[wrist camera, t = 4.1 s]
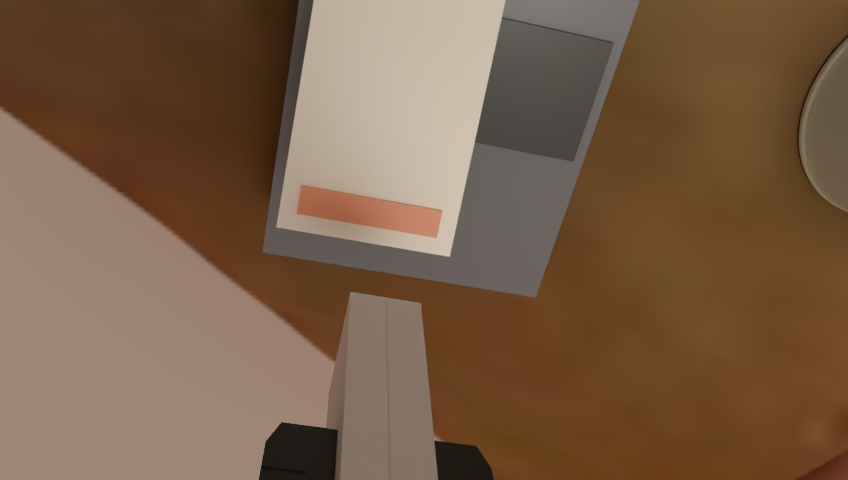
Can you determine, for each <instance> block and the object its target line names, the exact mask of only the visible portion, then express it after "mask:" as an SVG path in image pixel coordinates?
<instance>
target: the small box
mask: <svg viewBox="0 0 848 480" xmlns="http://www.w3.org/2000/svg"><path fill="white" fill-rule="evenodd" d="M505 1H506V0H314V1H313V7H312V13H311V20H310V26H309V32H308V38H307V44H306V50H305V56H304V62H303V68H302V74H301V80H300V86H299V92H298V98H297V104H296V110H295V117H294V123H293V129H292V135H291V141H290V147H289V153H288V159H287V165H286V171H285V177H284V183H283V189H282V195H281V201H280V208H279V214H278V220H277V226H276V227H277V228H283V229H289V230H295V231H301V232H307V233H312V234H318V235H324V236H330V237H336V238H342V239H348V240H354V241H359V242H365V243H371V244H377V245H383V246H389V247H395V248H400V249H406V250H412V251H418V252H424V253H430V254H436V255H442V256H447V257H450V253H451V249H452V244H453V239H454V235H455V230H456V226H457V221H458V216H459V212H460V207H461V203H462V198H463V193H464V189H465V184H466V180H467V175H468V171H469V166H470V161H471V157H472V152H473V148H474V143H475V138H476V134H477V129H478V125H479V120H480V115H481V111H482V106H483V102H484V97H485V92H486V88H487V83H488V79H489V74H490V69H491V65H492V60H493V56H494V51H495V47H496V42H497V37H498V33H499V28H500V24H501V19H502V14H503V10H504V5H505Z"/></svg>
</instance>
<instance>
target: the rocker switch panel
mask: <svg viewBox="0 0 848 480" xmlns="http://www.w3.org/2000/svg"><path fill="white" fill-rule="evenodd" d="M313 1H314V0H299V5H298V12H297V19H296V26H295V33H294V39H293V46H292V53H291V60H290V67H289V73H288V80H287V87H286V94H285V101H284V108H283V114H282V121H281V128H280V135H279V142H278V149H277V155H276V162H275V169H274V176H273V183H272V190H271V196H270V203H269V210H268V217H267V224H266V230H265V237H264V244H263V251H262V253H268V254H274V255H280V256H286V257H293V258H299V259H305V260H311V261H317V262H323V263H329V264H335V265H341V266H347V267H353V268H359V269H365V270H371V271H378V272H384V273H390V274H396V275H402V276H408V277H414V278H420V279H426V280H432V281H438V282H444V283H450V284H456V285H463V286H469V287H475V288H481V289H487V290H493V291H499V292H505V293H511V294H517V295H523V296H529V297H535V298H536V295H537V292H538V289H539V287H540V284H541V281H542V278H543V275H544V272H545V269H546V267H547V264H548V261H549V258H550V255H551V252H552V249H553V247H554V244H555V241H556V238H557V235H558V232H559V229H560V227H561V224H562V221H563V218H564V215H565V212H566V210H567V207H568V204H569V201H570V198H571V195H572V192H573V190H574V187H575V184H576V181H577V178H578V175H579V172H580V170H581V167H582V164H583V161H584V158H585V155H586V152H587V150H588V147H589V144H590V141H591V138H592V135H593V133H594V130H595V127H596V124H597V121H598V118H599V115H600V113H601V110H602V107H603V104H604V101H605V98H606V95H607V93H608V90H609V87H610V84H611V81H612V78H613V76H614V73H615V70H616V67H617V64H618V61H619V58H620V56H621V53H622V50H623V47H624V44H625V41H626V38H627V36H628V33H629V30H630V27H631V24H632V21H633V18H634V16H635V13H636V10H637V7H638V4H639V1H640V0H506V1H505V5H504V10H503V14H502V19H501V24H500V28H499V33H498V37H497V42H496V47H495V51H494V56H493V60H492V65H491V69H490V74H489V79H488V83H487V88H486V92H485V97H484V102H483V106H482V111H481V115H480V120H479V125H478V129H477V134H476V138H475V143H474V148H473V152H472V157H471V161H470V166H469V171H468V175H467V180H466V184H465V189H464V193H463V198H462V203H461V207H460V212H459V216H458V221H457V226H456V230H455V235H454V239H453V244H452V249H451V253H450V257H447V256H442V255H436V254H430V253H424V252H418V251H412V250H406V249H400V248H395V247H389V246H383V245H377V244H371V243H365V242H359V241H354V240H348V239H342V238H336V237H330V236H324V235H318V234H312V233H307V232H301V231H295V230H289V229H283V228H277V227H276V226H277V220H278V214H279V208H280V201H281V195H282V189H283V183H284V177H285V171H286V165H287V159H288V153H289V147H290V141H291V135H292V129H293V123H294V117H295V110H296V104H297V98H298V92H299V86H300V80H301V74H302V68H303V62H304V56H305V50H306V44H307V38H308V32H309V26H310V20H311V13H312V7H313Z"/></svg>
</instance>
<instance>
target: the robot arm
mask: <svg viewBox="0 0 848 480" xmlns="http://www.w3.org/2000/svg"><path fill="white" fill-rule="evenodd" d="M259 480H493V475H492V470H491V467H490V466H489V464H488V463H487V461H486V460H485V458H484V457H483V455H482V454H481V452H480V451H479V449H478V448H477V446H471V445H463V444H456V443H448V442H441V441H434V433H433V423H432V413H431V402H430V392H429V382H428V372H427V362H426V351H425V341H424V331H423V321H422V310H421V303H417V302H411V301H405V300H399V299H392V298H386V297H380V296H374V295H367V294H361V293H355V292H350V297H349V302H348V306H347V311H346V316H345V320H344V325H343V330H342V335H341V339H340V344H339V349H338V354H337V358H336V363H335V368H334V373H333V377H332V382H331V387H330V391H329V401H328V413H327V424H326V428H320V427H312V426H305V425H298V424H290V423H281V424H280V425H279V426H278V427H277V429H276V430H275V431H274V433H273V434H272V435H271V436H270V437H269V438H268V440H267V441H266V443H265V449H264V455H263V460H262V466H261V471H260V477H259Z"/></svg>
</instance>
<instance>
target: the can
mask: <svg viewBox="0 0 848 480" xmlns="http://www.w3.org/2000/svg"><path fill="white" fill-rule="evenodd" d="M799 152H800V158H801V161H802V165H803V168H804V171H805V173H806V175H807V177H808V179H809V181H810V182H811V184H812V185H813V187H814V188H815V189H816V190H817V192H818V193H819V194H820V195H821V196H822V197H823V198H825V199H826V200H827V201H828V202H830V203H831V204H833V205H834V206H836V207H838V208H840V209H842V210H844V211H846V212H848V37H847V38H846V39H845V40H844V41H843V42H842V43H841V44H840V45H839V46H838V48H837V49H836V50H835V51H834V52H833V54H832V55H831V56H830V57H829V58H828V60H827V61H826V63H825V64H824V65H823V67H822V68H821V70H820V72H819V73H818V75H817V77H816V79H815V81H814V83H813V84H812V86H811V88H810V91H809V93H808V96H807V98H806V101H805V104H804V107H803V111H802V115H801V119H800V127H799Z"/></svg>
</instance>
